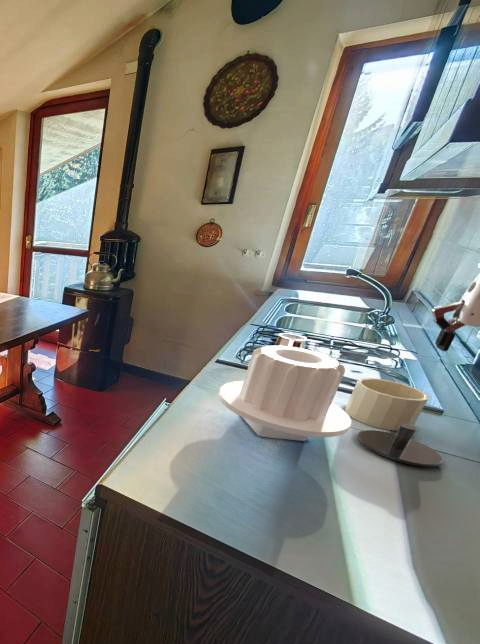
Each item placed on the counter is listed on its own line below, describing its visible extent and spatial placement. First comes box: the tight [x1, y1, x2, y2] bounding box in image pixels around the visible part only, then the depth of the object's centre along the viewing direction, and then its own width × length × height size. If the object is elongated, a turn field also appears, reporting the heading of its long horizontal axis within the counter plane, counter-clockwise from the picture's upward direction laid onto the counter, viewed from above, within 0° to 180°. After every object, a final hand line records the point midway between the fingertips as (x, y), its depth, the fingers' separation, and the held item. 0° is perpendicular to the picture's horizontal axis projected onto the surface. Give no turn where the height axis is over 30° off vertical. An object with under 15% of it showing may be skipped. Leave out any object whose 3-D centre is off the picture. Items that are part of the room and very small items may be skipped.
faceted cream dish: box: [344, 377, 430, 432], centre depth 98 cm, size 12×12×8 cm
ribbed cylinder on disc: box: [217, 344, 352, 442], centre depth 91 cm, size 25×25×19 cm
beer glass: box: [273, 332, 308, 349], centre depth 115 cm, size 7×7×15 cm
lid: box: [356, 424, 443, 468], centre depth 85 cm, size 13×13×6 cm
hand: (474, 352), depth 80 cm, fingers open, 9 cm apart
